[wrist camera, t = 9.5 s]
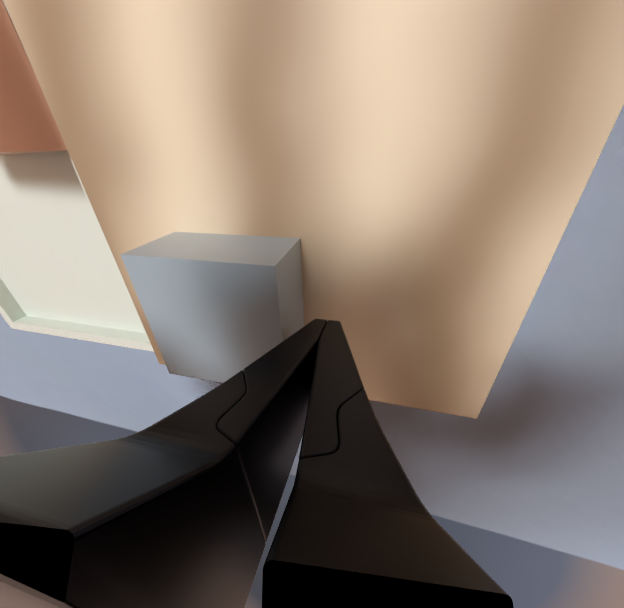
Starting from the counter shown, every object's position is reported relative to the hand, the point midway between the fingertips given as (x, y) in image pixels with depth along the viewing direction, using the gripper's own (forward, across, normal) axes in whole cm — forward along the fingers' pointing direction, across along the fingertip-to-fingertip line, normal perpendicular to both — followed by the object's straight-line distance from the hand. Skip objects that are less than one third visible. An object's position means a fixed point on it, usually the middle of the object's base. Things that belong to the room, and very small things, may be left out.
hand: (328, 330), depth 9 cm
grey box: (+2, +4, 0) cm, 4 cm away
